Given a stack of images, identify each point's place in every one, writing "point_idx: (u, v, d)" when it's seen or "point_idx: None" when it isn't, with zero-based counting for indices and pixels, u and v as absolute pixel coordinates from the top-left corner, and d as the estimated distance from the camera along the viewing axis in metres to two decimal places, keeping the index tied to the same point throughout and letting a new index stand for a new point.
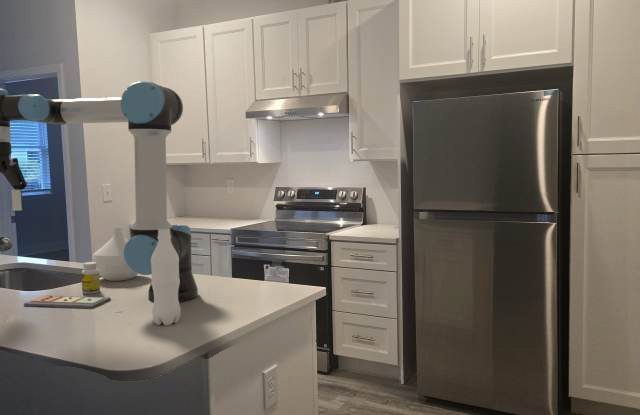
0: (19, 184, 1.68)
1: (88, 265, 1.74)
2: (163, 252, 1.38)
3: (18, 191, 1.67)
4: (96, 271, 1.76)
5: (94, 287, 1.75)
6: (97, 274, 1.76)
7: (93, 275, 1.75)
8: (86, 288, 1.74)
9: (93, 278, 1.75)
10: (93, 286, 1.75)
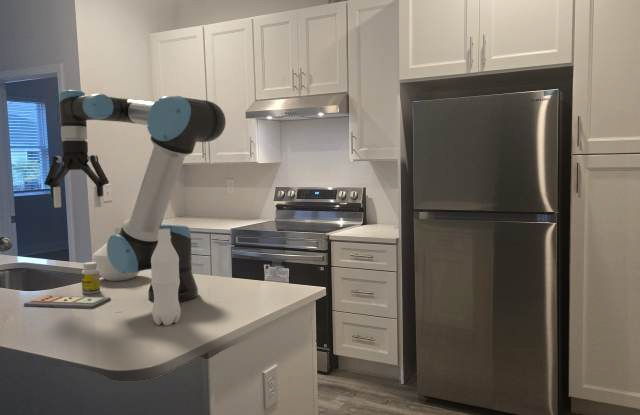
0: (95, 181, 1.69)
1: (88, 265, 1.74)
2: (163, 252, 1.38)
3: None
4: (96, 271, 1.76)
5: (94, 287, 1.75)
6: (97, 274, 1.76)
7: (93, 275, 1.75)
8: (86, 288, 1.74)
9: (93, 278, 1.75)
10: (93, 286, 1.75)
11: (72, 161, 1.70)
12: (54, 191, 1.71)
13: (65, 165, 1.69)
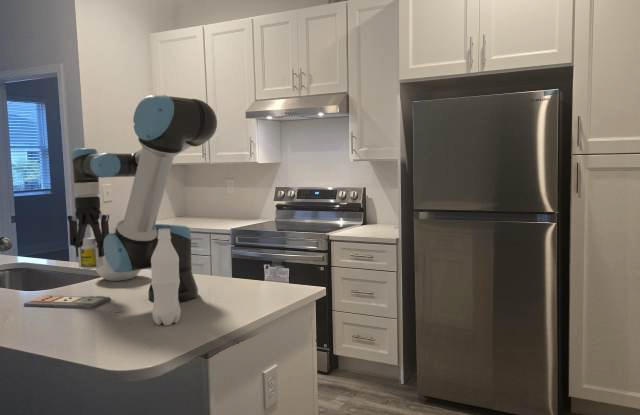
0: (98, 241, 1.74)
1: (88, 239, 1.74)
2: (163, 252, 1.38)
3: None
4: None
5: (94, 262, 1.74)
6: None
7: (93, 250, 1.74)
8: (86, 263, 1.73)
9: (93, 253, 1.74)
10: (93, 261, 1.74)
11: (85, 215, 1.74)
12: (79, 251, 1.75)
13: (80, 221, 1.74)
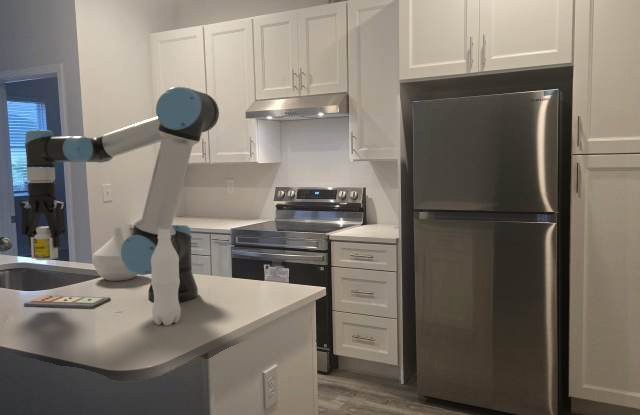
0: (52, 231, 1.61)
1: (41, 229, 1.61)
2: (163, 252, 1.38)
3: None
4: None
5: (47, 253, 1.61)
6: None
7: (46, 240, 1.61)
8: (38, 254, 1.61)
9: (46, 243, 1.61)
10: (47, 252, 1.61)
11: (38, 202, 1.61)
12: (32, 241, 1.62)
13: (33, 209, 1.61)
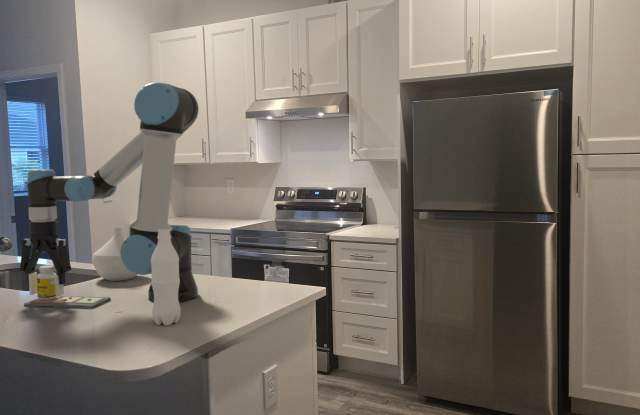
0: (57, 268, 1.62)
1: (44, 268, 1.61)
2: (163, 252, 1.38)
3: None
4: (53, 275, 1.63)
5: (50, 292, 1.62)
6: (54, 279, 1.63)
7: (49, 280, 1.62)
8: (41, 294, 1.61)
9: (49, 283, 1.62)
10: (49, 291, 1.62)
11: (40, 242, 1.62)
12: (29, 278, 1.63)
13: (34, 247, 1.62)
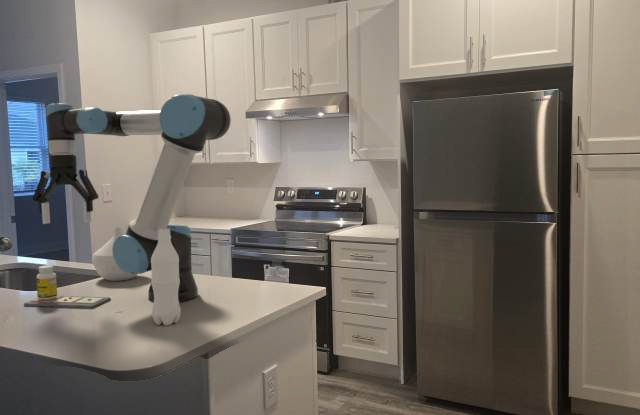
0: (84, 196, 1.65)
1: (44, 268, 1.61)
2: (163, 252, 1.38)
3: None
4: (52, 275, 1.63)
5: (50, 292, 1.62)
6: (54, 279, 1.63)
7: (49, 280, 1.62)
8: (41, 294, 1.61)
9: (49, 282, 1.62)
10: (49, 291, 1.62)
11: (60, 176, 1.65)
12: (42, 207, 1.66)
13: (53, 180, 1.65)
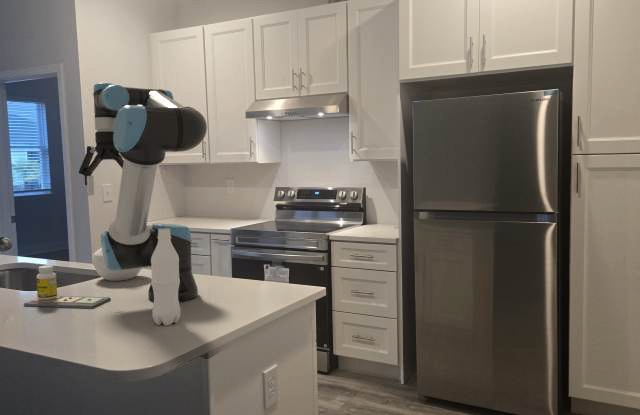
0: None
1: (44, 268, 1.61)
2: (163, 252, 1.38)
3: None
4: (52, 275, 1.63)
5: (50, 292, 1.62)
6: (54, 279, 1.63)
7: (49, 280, 1.62)
8: (41, 294, 1.61)
9: (49, 282, 1.62)
10: (49, 291, 1.62)
11: (105, 151, 1.77)
12: (88, 180, 1.78)
13: (98, 155, 1.77)
